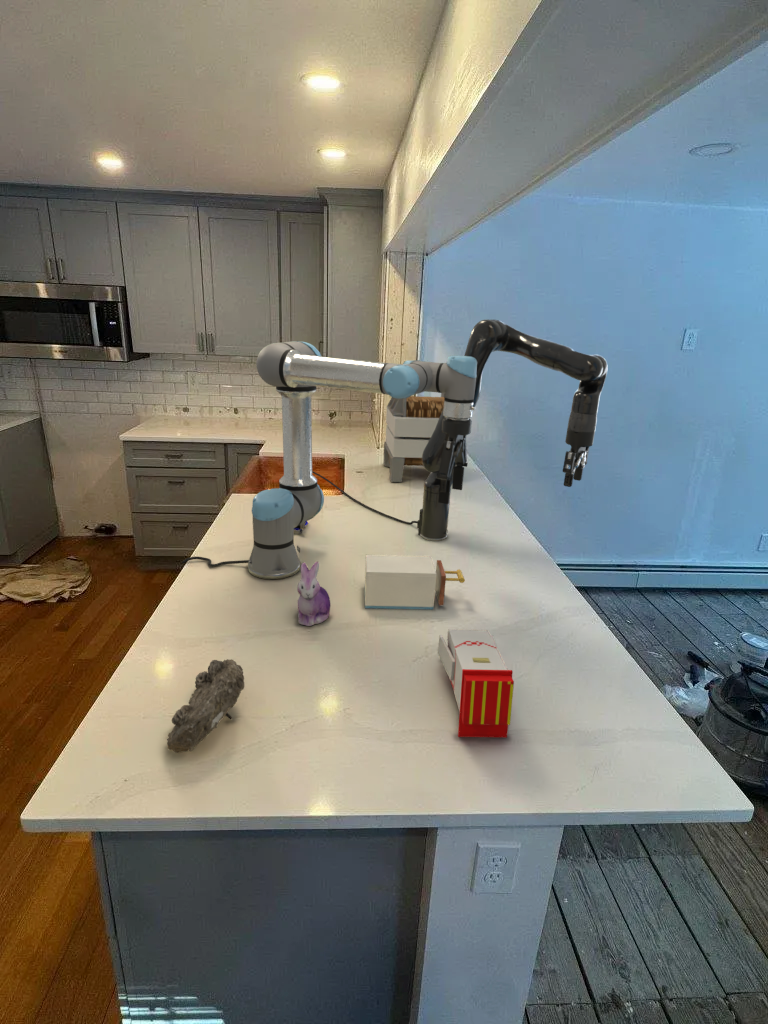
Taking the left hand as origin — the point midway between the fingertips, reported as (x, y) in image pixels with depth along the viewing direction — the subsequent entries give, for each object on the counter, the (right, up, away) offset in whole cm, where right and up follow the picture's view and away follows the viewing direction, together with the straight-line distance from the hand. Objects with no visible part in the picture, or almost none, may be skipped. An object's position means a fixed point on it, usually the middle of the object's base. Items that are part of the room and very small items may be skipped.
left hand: (450, 495), depth 154 cm
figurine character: (-48, -10, +47) cm, 68 cm away
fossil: (-51, -43, -46) cm, 81 cm away
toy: (0, -42, -35) cm, 55 cm away
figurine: (-36, -31, -10) cm, 49 cm away
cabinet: (-14, -28, +1) cm, 32 cm away
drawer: (-8, -27, +1) cm, 29 cm away
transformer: (-1, +14, +121) cm, 122 cm away
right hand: (+37, +4, +11) cm, 39 cm away
